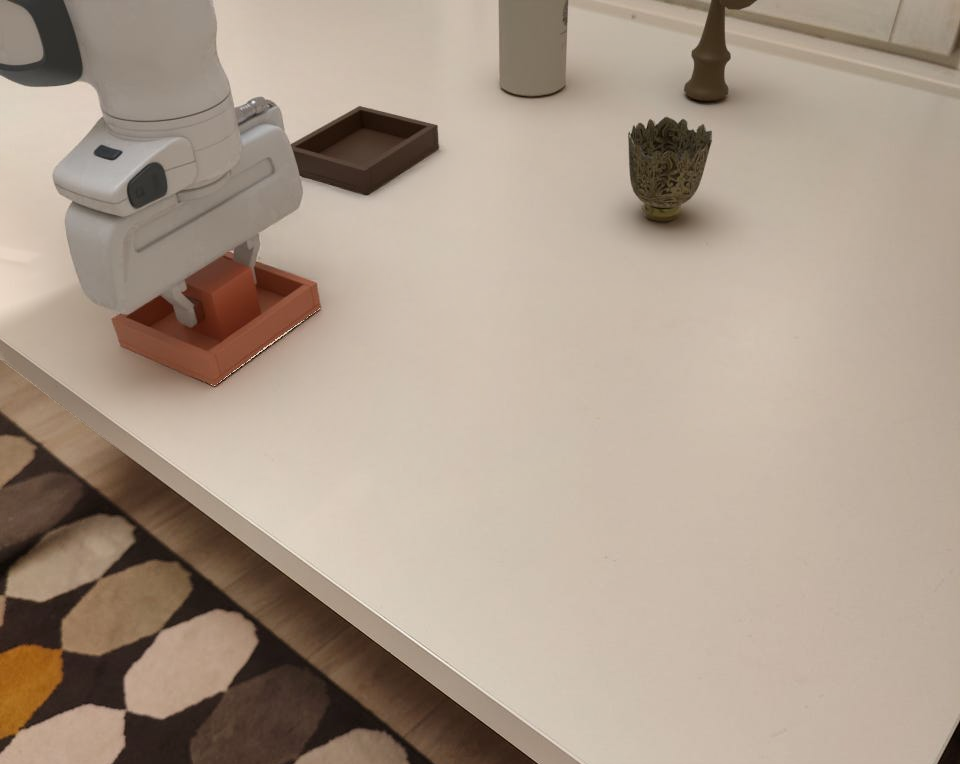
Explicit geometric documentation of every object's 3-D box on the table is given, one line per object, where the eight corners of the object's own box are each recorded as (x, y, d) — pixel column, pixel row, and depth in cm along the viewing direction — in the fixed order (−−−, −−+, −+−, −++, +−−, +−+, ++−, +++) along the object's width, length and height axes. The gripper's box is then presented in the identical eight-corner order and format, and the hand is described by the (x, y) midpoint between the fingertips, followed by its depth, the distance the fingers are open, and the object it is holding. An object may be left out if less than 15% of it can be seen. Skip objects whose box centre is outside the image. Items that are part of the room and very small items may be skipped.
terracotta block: (223, 342, 75) (211, 293, 72) (183, 326, 77) (169, 277, 74) (262, 315, 78) (251, 267, 75) (222, 300, 80) (210, 252, 77)
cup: (605, 216, 90) (611, 134, 85) (653, 190, 94) (662, 109, 88) (668, 242, 86) (679, 158, 81) (716, 214, 90) (729, 131, 84)
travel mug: (490, 94, 113) (487, -76, 100) (510, 70, 118) (510, -94, 106) (555, 101, 111) (560, -72, 98) (572, 76, 116) (579, -91, 104)
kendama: (702, 115, 107) (729, -86, 93) (663, 85, 114) (684, -107, 100) (749, 107, 108) (783, -93, 94) (708, 78, 115) (734, -113, 101)
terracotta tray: (214, 387, 72) (207, 359, 70) (120, 345, 76) (110, 318, 75) (321, 309, 80) (317, 282, 78) (229, 275, 84) (223, 249, 82)
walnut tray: (367, 195, 95) (364, 170, 93) (287, 171, 99) (283, 147, 97) (439, 148, 102) (437, 124, 100) (362, 128, 106) (359, 105, 105)
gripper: (245, 81, 75) (275, 239, 84) (30, 183, 62) (94, 355, 72) (306, 95, 72) (330, 257, 81) (94, 205, 60) (152, 381, 69)
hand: (218, 304), depth 76 cm, fingers closed on terracotta block, 4 cm apart
